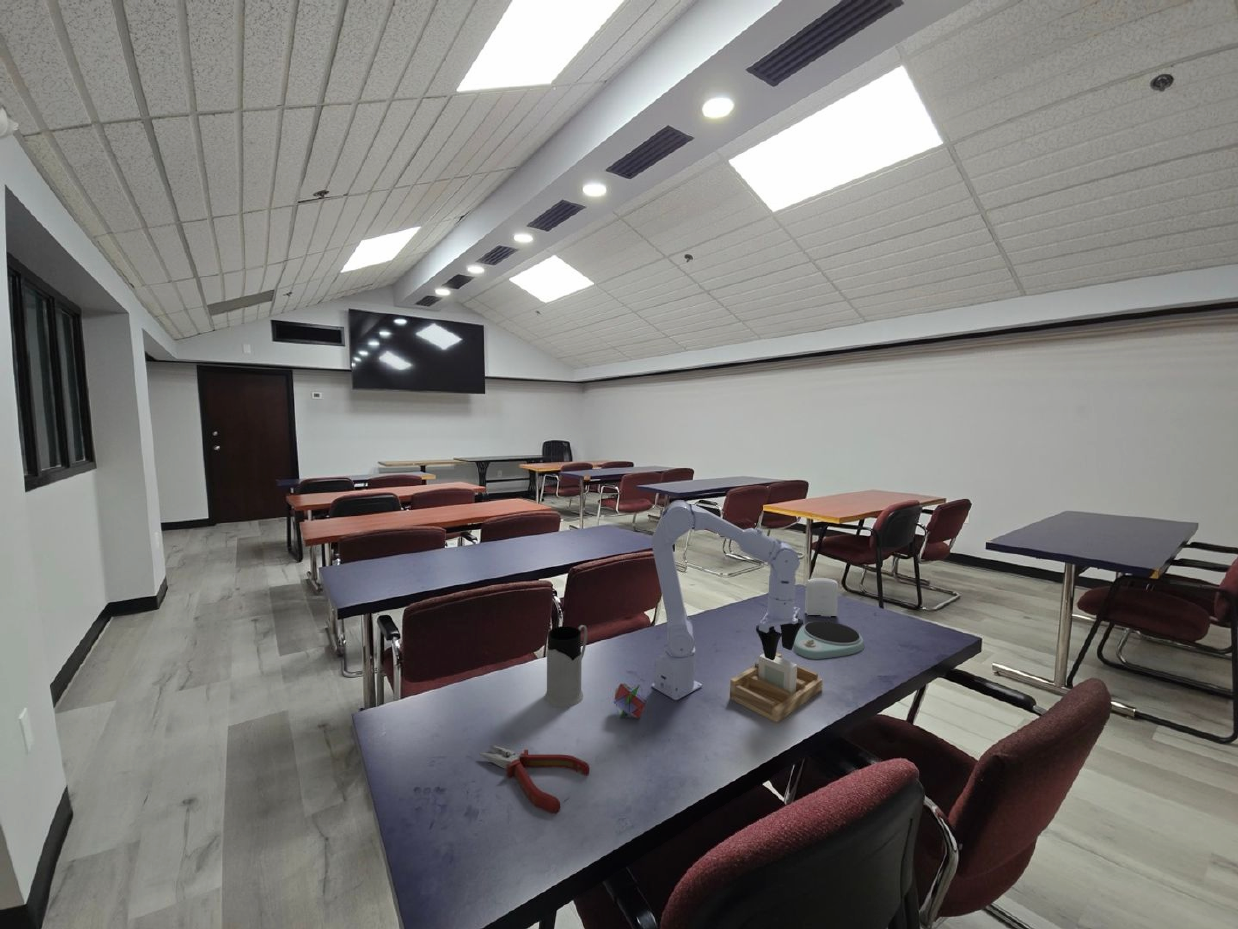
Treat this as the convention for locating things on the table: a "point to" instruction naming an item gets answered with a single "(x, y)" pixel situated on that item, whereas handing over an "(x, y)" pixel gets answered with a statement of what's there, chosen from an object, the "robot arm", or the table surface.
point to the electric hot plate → (827, 640)
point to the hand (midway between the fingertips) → (778, 653)
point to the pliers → (519, 762)
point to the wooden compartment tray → (773, 692)
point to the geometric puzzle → (629, 700)
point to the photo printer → (821, 597)
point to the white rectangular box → (778, 672)
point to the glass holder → (564, 666)
